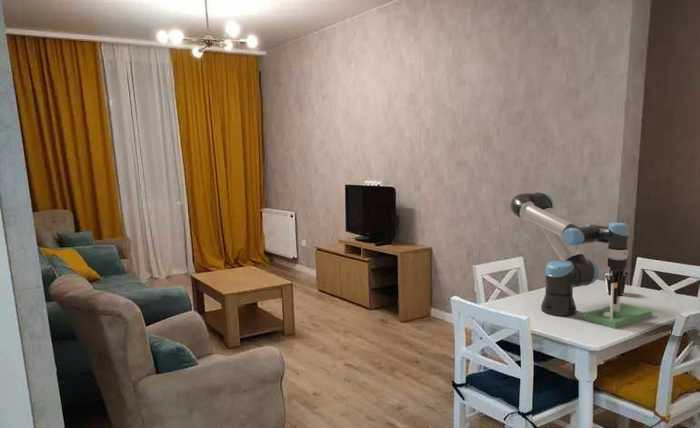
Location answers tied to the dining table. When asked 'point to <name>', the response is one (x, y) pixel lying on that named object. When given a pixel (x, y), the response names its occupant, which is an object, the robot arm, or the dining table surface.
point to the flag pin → (613, 285)
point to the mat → (618, 315)
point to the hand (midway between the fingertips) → (615, 310)
